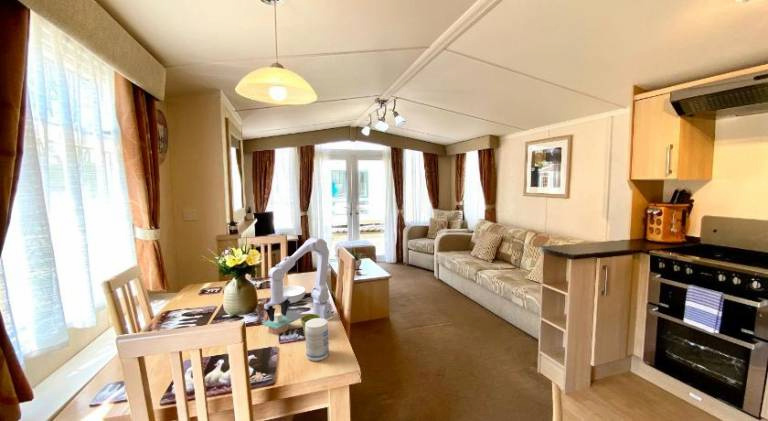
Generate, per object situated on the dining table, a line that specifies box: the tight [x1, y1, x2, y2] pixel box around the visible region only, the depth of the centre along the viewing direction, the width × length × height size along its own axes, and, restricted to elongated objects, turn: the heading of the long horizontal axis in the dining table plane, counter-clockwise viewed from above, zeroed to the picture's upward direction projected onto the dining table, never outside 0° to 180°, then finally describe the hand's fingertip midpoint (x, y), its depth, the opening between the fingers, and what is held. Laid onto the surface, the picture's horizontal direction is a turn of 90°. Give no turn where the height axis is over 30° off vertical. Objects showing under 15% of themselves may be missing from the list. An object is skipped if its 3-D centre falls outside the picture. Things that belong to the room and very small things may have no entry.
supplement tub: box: [304, 318, 330, 362], centre depth 136 cm, size 10×10×15 cm
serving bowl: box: [269, 285, 307, 304], centre depth 198 cm, size 21×21×7 cm
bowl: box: [268, 324, 289, 335], centre depth 160 cm, size 9×9×4 cm
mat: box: [282, 309, 306, 322], centre depth 175 cm, size 13×13×1 cm
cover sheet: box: [261, 312, 295, 329], centre depth 160 cm, size 11×11×4 cm
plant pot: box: [299, 313, 320, 338], centre depth 154 cm, size 9×9×9 cm
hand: (278, 317), depth 160 cm, fingers open, 7 cm apart
